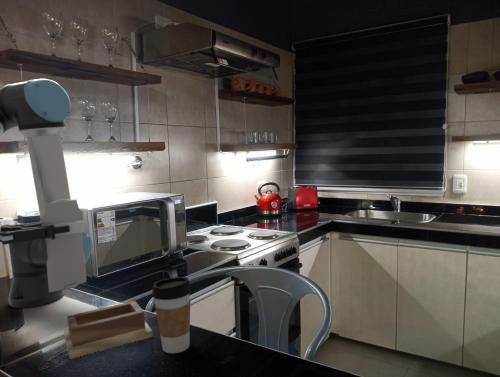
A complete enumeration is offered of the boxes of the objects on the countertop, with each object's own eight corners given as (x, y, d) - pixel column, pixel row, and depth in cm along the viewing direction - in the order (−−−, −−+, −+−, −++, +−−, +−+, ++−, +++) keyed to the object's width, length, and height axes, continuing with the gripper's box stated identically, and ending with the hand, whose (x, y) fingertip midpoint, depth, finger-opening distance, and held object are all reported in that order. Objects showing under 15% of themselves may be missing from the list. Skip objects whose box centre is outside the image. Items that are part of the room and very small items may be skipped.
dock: (64, 335, 99) (61, 313, 99) (138, 317, 108) (136, 296, 108) (69, 359, 87) (67, 335, 87) (152, 336, 96) (150, 314, 95)
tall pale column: (83, 279, 107) (77, 196, 105) (92, 281, 105) (86, 197, 102) (43, 291, 99) (35, 201, 96) (51, 294, 96) (43, 202, 94)
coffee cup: (187, 357, 85) (182, 287, 84) (150, 355, 87) (144, 287, 86) (200, 338, 93) (195, 275, 92) (165, 337, 95) (160, 274, 94)
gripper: (-22, 247, 100) (80, 233, 110) (-33, 263, 84) (88, 245, 95) (-25, 217, 99) (78, 206, 110) (-37, 227, 83) (85, 213, 94)
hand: (82, 224), depth 102 cm, fingers open, 5 cm apart
